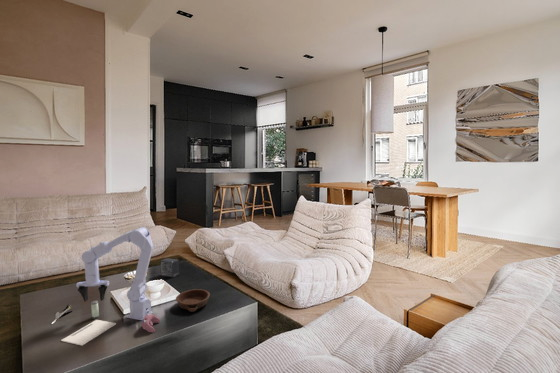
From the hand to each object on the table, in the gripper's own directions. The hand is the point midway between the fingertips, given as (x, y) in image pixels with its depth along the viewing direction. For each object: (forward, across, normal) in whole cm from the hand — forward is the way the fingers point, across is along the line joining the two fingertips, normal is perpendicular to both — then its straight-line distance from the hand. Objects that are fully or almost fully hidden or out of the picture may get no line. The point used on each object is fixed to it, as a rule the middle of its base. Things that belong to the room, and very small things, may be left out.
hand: (94, 300), depth 156 cm
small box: (+9, -23, -53) cm, 59 cm away
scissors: (+10, +19, -6) cm, 22 cm away
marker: (+9, 0, 0) cm, 9 cm away
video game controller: (+9, -31, +13) cm, 35 cm away
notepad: (+9, -4, +14) cm, 17 cm away
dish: (+9, -46, -9) cm, 48 cm away
